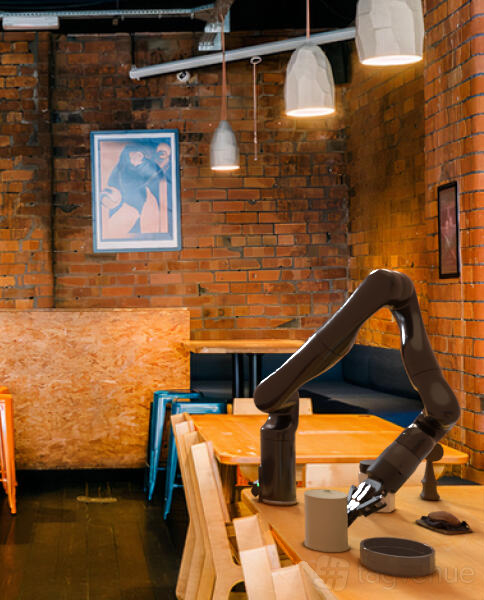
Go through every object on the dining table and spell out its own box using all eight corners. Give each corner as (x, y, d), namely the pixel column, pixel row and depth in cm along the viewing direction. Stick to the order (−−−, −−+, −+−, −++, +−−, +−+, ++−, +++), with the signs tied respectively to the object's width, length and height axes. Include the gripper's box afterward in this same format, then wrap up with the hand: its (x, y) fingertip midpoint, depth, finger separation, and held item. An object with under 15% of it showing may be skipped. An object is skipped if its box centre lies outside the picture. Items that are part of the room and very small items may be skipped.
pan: (355, 570, 159) (355, 550, 159) (366, 552, 171) (365, 533, 171) (432, 582, 152) (432, 561, 152) (437, 562, 164) (437, 542, 164)
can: (349, 542, 178) (349, 488, 178) (347, 554, 169) (347, 498, 169) (306, 538, 181) (305, 485, 181) (302, 549, 173) (301, 494, 173)
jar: (366, 502, 213) (365, 458, 213) (398, 507, 207) (397, 461, 208) (354, 509, 206) (354, 463, 206) (388, 514, 201) (387, 467, 201)
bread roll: (412, 523, 193) (412, 508, 193) (441, 520, 195) (441, 505, 195) (445, 535, 183) (445, 519, 183) (475, 532, 185) (475, 516, 185)
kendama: (437, 495, 220) (436, 423, 220) (446, 503, 211) (445, 428, 211) (414, 494, 222) (413, 422, 222) (421, 502, 213) (420, 427, 213)
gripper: (366, 450, 183) (316, 506, 182) (397, 461, 170) (343, 521, 169) (389, 473, 183) (339, 528, 182) (421, 485, 170) (368, 545, 169)
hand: (341, 525), depth 175 cm, fingers closed
